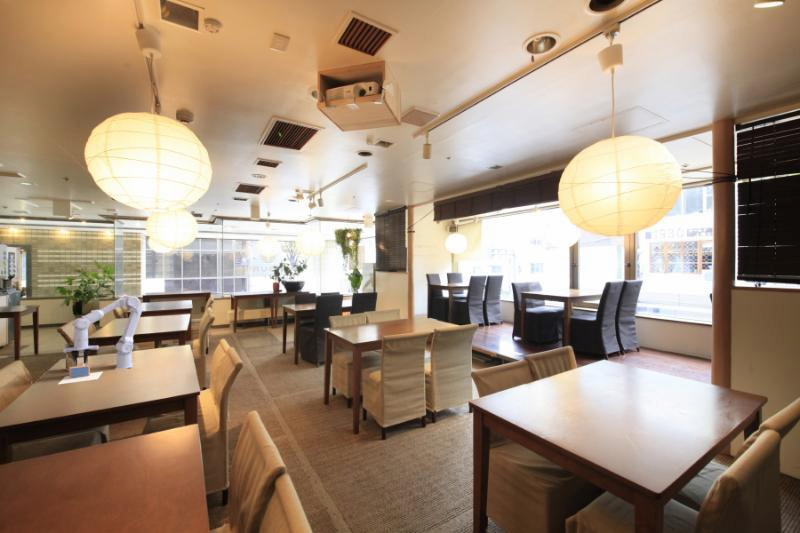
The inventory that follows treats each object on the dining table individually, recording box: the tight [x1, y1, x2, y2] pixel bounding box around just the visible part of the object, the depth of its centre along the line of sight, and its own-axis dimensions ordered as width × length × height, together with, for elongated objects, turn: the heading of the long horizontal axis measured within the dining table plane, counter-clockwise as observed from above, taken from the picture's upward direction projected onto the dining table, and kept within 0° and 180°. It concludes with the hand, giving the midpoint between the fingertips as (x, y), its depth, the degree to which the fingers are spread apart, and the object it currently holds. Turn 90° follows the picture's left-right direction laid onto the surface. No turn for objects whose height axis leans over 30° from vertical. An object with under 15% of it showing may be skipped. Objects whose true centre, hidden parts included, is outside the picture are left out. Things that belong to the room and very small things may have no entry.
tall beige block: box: [77, 355, 86, 366], centre depth 191 cm, size 6×2×8 cm, turn 32°
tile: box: [68, 364, 91, 378], centre depth 188 cm, size 2×8×6 cm, turn 122°
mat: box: [57, 371, 103, 385], centre depth 187 cm, size 14×16×1 cm
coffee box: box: [64, 341, 89, 372], centre depth 201 cm, size 9×6×16 cm
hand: (81, 363), depth 191 cm, fingers closed on tall beige block, 2 cm apart
